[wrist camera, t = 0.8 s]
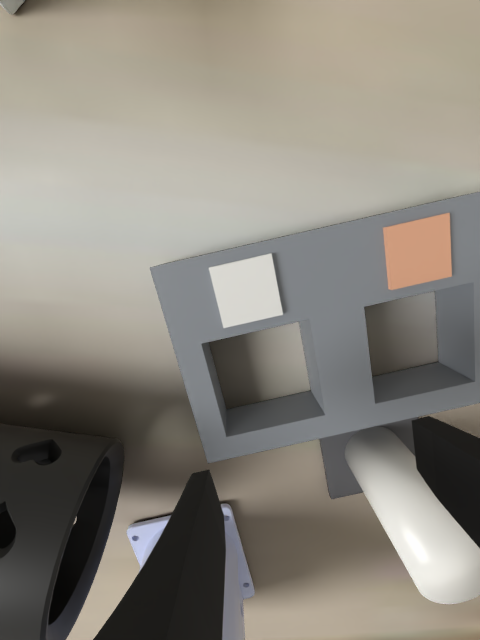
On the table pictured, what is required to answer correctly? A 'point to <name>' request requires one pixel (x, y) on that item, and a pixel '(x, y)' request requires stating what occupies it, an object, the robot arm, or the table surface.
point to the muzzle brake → (52, 525)
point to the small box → (11, 5)
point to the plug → (414, 518)
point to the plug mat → (337, 466)
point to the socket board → (330, 322)
